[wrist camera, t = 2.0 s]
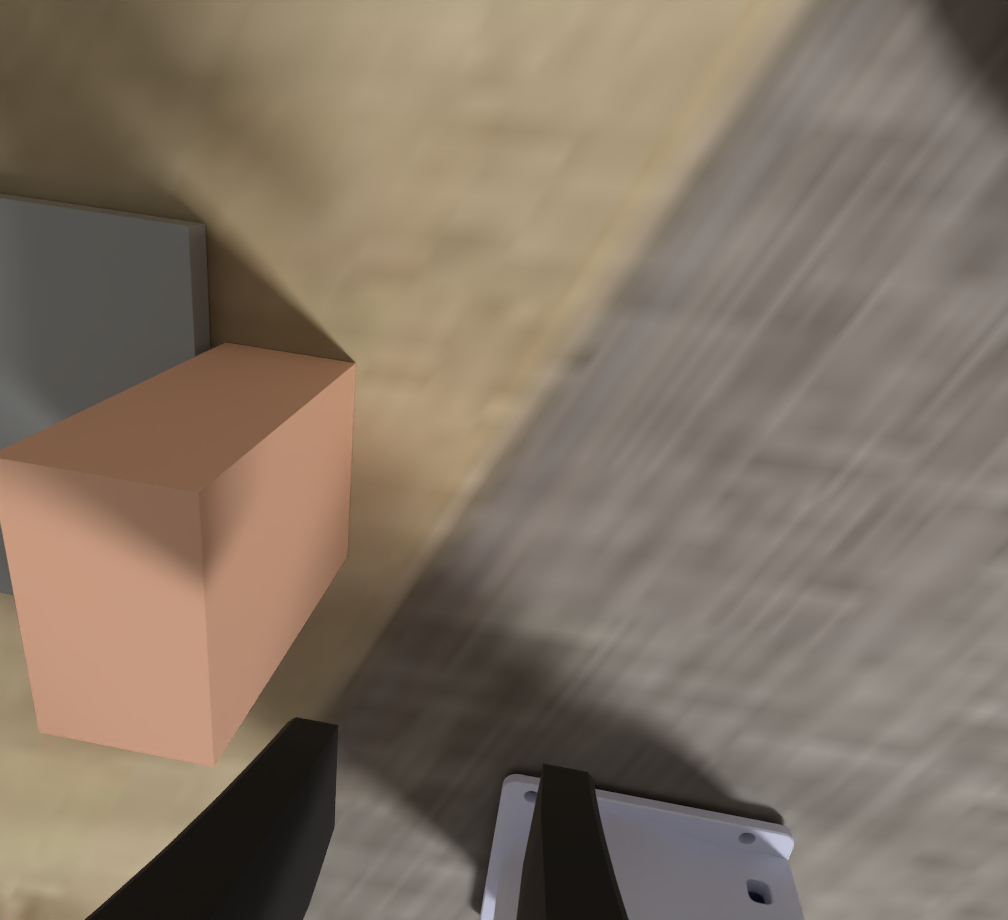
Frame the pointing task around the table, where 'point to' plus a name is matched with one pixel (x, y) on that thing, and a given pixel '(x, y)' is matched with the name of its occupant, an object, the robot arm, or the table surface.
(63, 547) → the block
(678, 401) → the table surface
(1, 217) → the board
